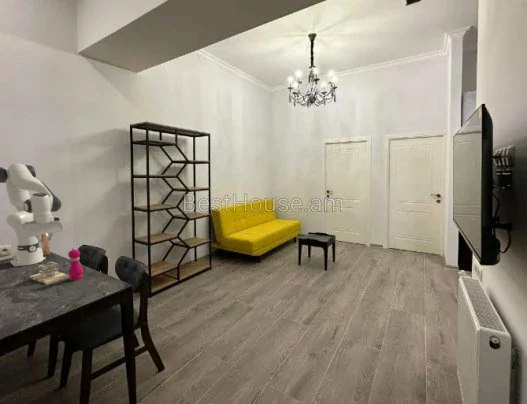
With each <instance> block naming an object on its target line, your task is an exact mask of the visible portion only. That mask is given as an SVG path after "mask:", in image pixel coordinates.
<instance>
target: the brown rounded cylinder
mask: <svg viewBox="0 0 527 404" xmlns="http://www.w3.org/2000/svg"><path fill="white" fill-rule="evenodd" d="M45 231H46V229H45ZM49 237H50V235H49V234H47V233H45V234H44V235H40V239H42V241H43V242H41V247H42V248H41V249H42V253H43V256H46V255H50V254H51V247H50V241H49Z"/></svg>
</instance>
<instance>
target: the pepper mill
mask: <svg viewBox="0 0 527 404" xmlns="http://www.w3.org/2000/svg"><path fill="white" fill-rule="evenodd" d="M80 255H81V252H80V250H78V249H76V247H72V248H71V250H69V251H68V254H67V256H68V257H69V261H70V267H69V270H68V276H70V277H69V278H70V281H78V280H81V279H83V277H84V276H83V272H84V269H83V267H82V266H81V263H80Z"/></svg>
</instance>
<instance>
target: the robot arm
mask: <svg viewBox="0 0 527 404" xmlns="http://www.w3.org/2000/svg"><path fill="white" fill-rule="evenodd" d="M36 177H37V171H36V169H35V167H34V166H32V165H28V164H27V165H26V164H23V163H20V162H19V163H13V164H11V165H8V166H4V167H3V166H0V184H1V183H2V184H5V186H6V187H5V188H6V192H7V196H8V200H9V203H10V205H12V206H13V207H15V209H16V210H17V211H16V212H12V213H11V214H10V215H8V216H7V217H6V220H5V221H6V224H7V225H8V226H9V227H11V228H12V229H13V230H14V233H15V235H16V239H17V247H16V252H14V254H13V255H12V256H11V260H10V264H11V265H12V266H13V267H19V266H29V265H35V264H38V263H42V262H43V261H44V260H46V256H45V257H44V255H43V250H42V248H41V247H40V243H41V244H42V242H43V241H42V239H41V235H44V234H45V233H47V234H48V236H49V242H50V241H52V240H53V237H54V234H55V233H59V232H63V231H64V229H65V227H64V223H63V221H62V217H60V216H57V215H52V213H55V212H58V211H59V210H60V209H61V208H62V201H61V199H60V198H58V197H57V196H56V195H55V194H54V193H53V192H52V191H51V189H49V187H48V186H47V185H46V184H45V183H44V182H43V181H42V180H39V179H38V178H36ZM29 191H31V192H36V193H32V194H31V196H30V193H29ZM45 229H46V231H45Z"/></svg>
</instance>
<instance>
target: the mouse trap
mask: <svg viewBox="0 0 527 404" xmlns="http://www.w3.org/2000/svg"><path fill="white" fill-rule="evenodd" d="M57 267H59V263H57V262H53V261H49V262H43V263H42V264H38V265H37V268H38V269H40V270H38V273H37V274H33V275H29V279H31V280H33V281H36V282H39V283H42V284H45V285H49V284H52V283H55V282H59V281H60V280H64V279H67V278H70V277H69V276H70V275H69V274H66V273H63V272H60V270H59V268H57Z"/></svg>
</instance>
